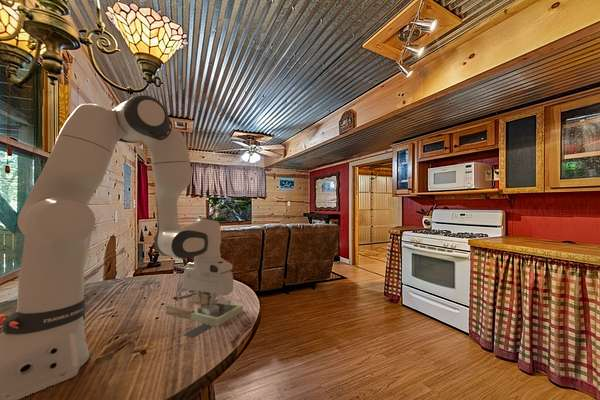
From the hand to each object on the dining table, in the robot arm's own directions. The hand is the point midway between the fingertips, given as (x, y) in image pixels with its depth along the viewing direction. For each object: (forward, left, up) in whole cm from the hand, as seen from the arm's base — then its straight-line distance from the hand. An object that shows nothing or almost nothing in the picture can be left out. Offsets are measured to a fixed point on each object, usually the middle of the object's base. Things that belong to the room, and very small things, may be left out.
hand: (206, 304), depth 89 cm
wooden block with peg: (0, 0, -3) cm, 3 cm away
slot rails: (0, +6, -3) cm, 7 cm away
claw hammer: (+15, +18, -4) cm, 24 cm away
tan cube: (-3, -4, -3) cm, 6 cm away
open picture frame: (0, -5, -3) cm, 6 cm away
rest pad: (-11, -8, -3) cm, 14 cm away
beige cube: (+3, -5, -3) cm, 6 cm away
